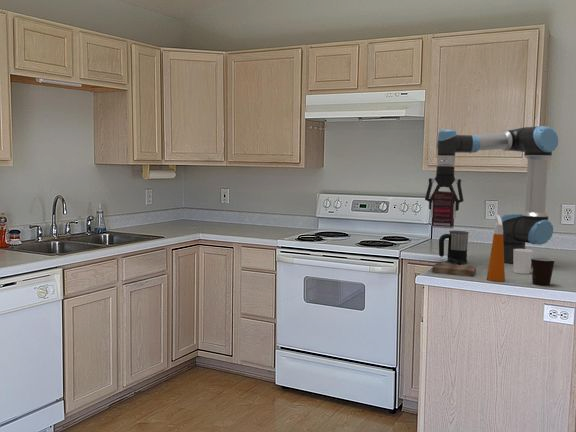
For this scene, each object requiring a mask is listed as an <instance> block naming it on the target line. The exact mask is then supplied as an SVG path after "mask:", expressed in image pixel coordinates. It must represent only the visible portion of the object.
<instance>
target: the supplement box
mask: <svg viewBox="0 0 576 432" xmlns="http://www.w3.org/2000/svg"><path fill="white" fill-rule="evenodd" d="M432 194H433V201H432V202H433V217H431V218H432V221H431V223H432V225H431V226H432V227H431V228H435V229H436V228H438V229H454V227H455V225H454V224H455V219H454V218H453V209H454V203H456V202H455V200H454V198H453V192H451V191H446V190H444V191H443V190H442V191H441V190H440V191H439V190H438V191H434V190H433V192H432Z"/></svg>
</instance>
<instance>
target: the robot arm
mask: <svg viewBox="0 0 576 432" xmlns="http://www.w3.org/2000/svg"><path fill="white" fill-rule="evenodd" d="M558 137H559V136H558V134H557V132H556V131H555V130H554V128H552V127H551V126H547V125H546V126H545V125H544V126H543V125H539V126H528V127H527V126H526V127H525V126H524V127H520V128H519V127H518V128H515V129H509V130H503V131H501V132H498V133H497V132H496V133H478V134H464V135H463V134H457V131H456V130H455V129H440V130H439V131H438V134H437V140H436V148H437V153H436V165H437V166H436V170H435V171H436V173H435V175H436V176H435V177H434V178H432V177H430V178H428V185H427V190H426V193H425V198H424V200H425V201H427V202H428V209H429V210H430V213H431V214H430V218H432V217H433V193H432V194H431V192H432V188H433V184H434V183H435V182H436V184H437V185H436V187H435V188H434V190H433V191H439V190H440V189H441V188H448V189H449V190H450V191H449V192H453V198H454V200H455V203H454V209H453V218H454V220H455V219H457V211H459V207H460V203H463V202H464V196H463V190H462V178H461V179H460V178H456V177H455V165H456V153H459V154H460V153H461V154H462V153H463V154H464V153H465V154H466V153H468V154H469V153H470V154H473V153H477V152H479V151H489V150H490V151H491V150H492V151H493V150H502V151H503V152H509V151H511V152H520V153H521V152H523V153H524V154H523V156H524V157H525V158H526V160H527V168H526V183H525V184H526V186H525V187H526V189H525V203H524V208H525V209H524V211H523V212H522V214H521V213H519V214H518V213H517V214H503V215H502V217H501V220H502V225H503V244H504V264H513V249H527V248H526V243H527V244H530V245H538V246H539V245H540V246H541V245H545V244H546V243H547V242H549V240H551V238H552V237H553V234H554V226H553V224H552V222H551V221H550V220H549V214H548V213H547V212H546V202H547V201H546V200H547V185H548V184H547V182H548V180H547V179H548V164H549V163H548V162H549V161H548V160H549V159H550V158H551V157H552V155H553V151H555V150H556V148H557V147H558V144H559V138H558ZM454 183H456V184H457V185H456V186H457V191H458V195H457V194H456V191H455V189H454V187H453V186H454V185H453V184H454ZM430 195H431V196H430ZM458 197H459V198H458Z"/></svg>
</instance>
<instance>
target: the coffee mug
mask: <svg viewBox="0 0 576 432" xmlns="http://www.w3.org/2000/svg"><path fill="white" fill-rule="evenodd" d="M554 265H555V259H554V258H549V257H540V256H539V257H534V256H532V258H531V278H532V279H531V280H532V285H535V286H536V285H537V286H542V287H543V286H545V287H546V286H548V287H549V286H550V285H551V282H552V281H551V280H552V275H553V270H554Z"/></svg>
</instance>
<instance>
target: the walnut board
mask: <svg viewBox="0 0 576 432" xmlns="http://www.w3.org/2000/svg"><path fill="white" fill-rule="evenodd" d="M432 272H435V273H434V274H439V273H442V275H450V276H461V277H471V278H472V277H473V278H474V277H475V275H476V272H477V266H475V265H466V264H465V265H462V264H461V265H458V264H455V263H443V262H441V263H440V262H439V263H438V262H436V263H435V264H433V266H432V271H431V273H432Z"/></svg>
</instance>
